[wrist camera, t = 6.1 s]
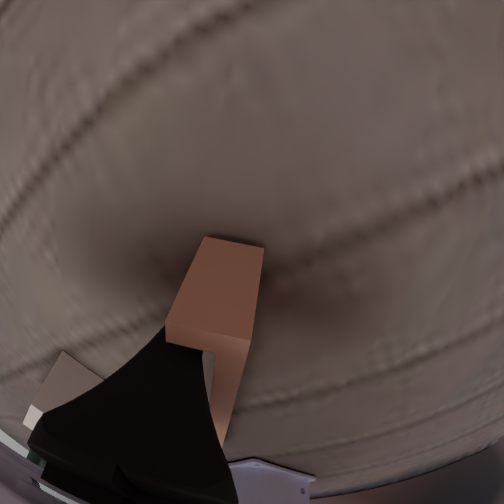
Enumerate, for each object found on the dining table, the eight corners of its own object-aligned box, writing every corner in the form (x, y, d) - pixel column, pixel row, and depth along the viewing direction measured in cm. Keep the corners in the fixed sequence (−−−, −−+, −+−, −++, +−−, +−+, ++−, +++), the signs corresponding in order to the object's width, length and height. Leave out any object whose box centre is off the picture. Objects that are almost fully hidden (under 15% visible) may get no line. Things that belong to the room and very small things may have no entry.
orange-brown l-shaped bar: (221, 444, 21) (212, 490, 17) (192, 438, 21) (181, 484, 17) (269, 249, 11) (259, 341, 7) (204, 236, 11) (165, 321, 7)
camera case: (200, 433, 21) (186, 495, 16) (147, 447, 26) (133, 493, 21) (62, 350, 18) (26, 413, 13) (43, 384, 22) (19, 429, 17)
